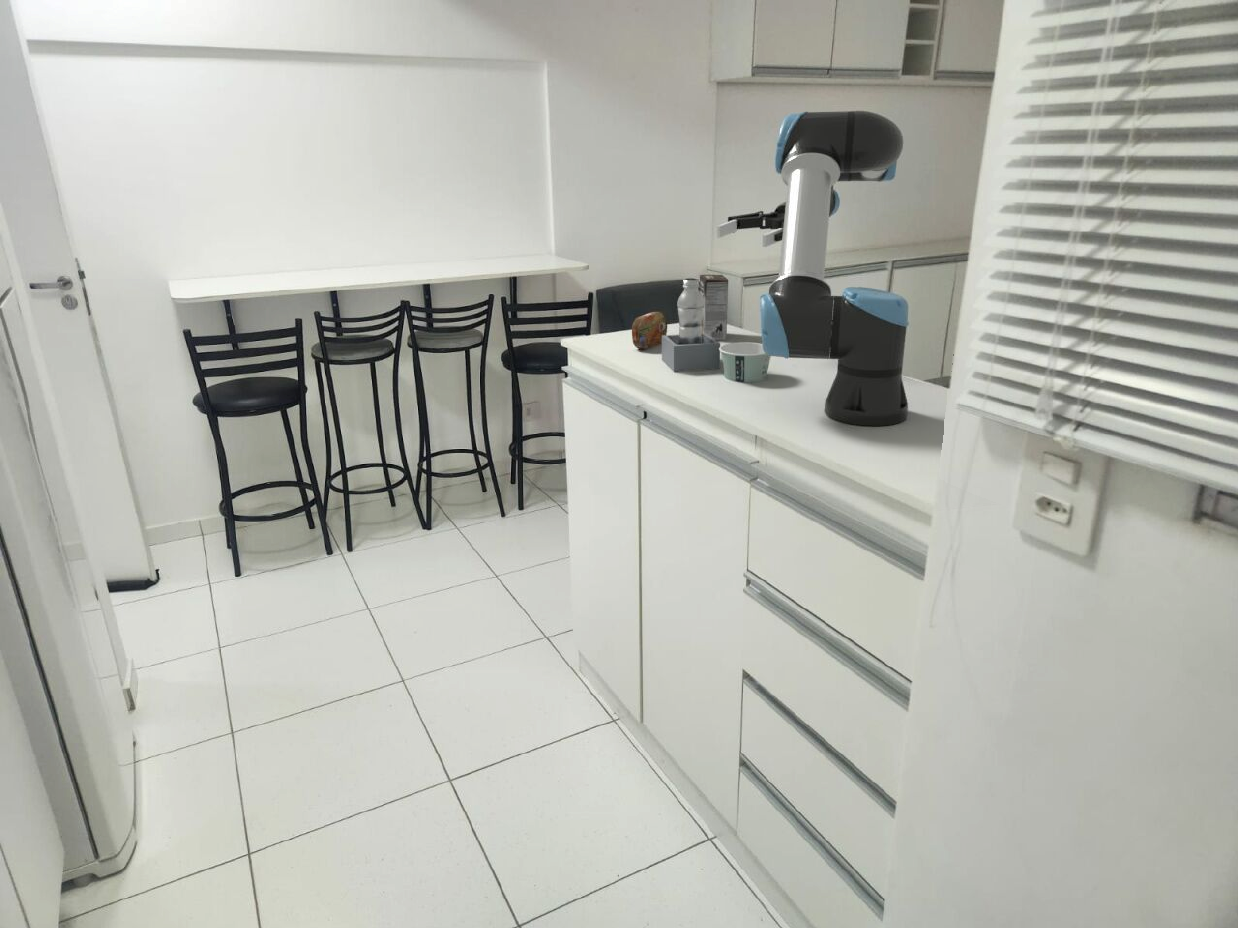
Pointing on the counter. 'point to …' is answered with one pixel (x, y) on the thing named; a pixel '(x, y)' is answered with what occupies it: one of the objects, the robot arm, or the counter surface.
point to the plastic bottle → (690, 313)
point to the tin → (649, 330)
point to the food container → (744, 361)
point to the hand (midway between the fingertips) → (740, 236)
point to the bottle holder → (691, 354)
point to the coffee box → (714, 305)
